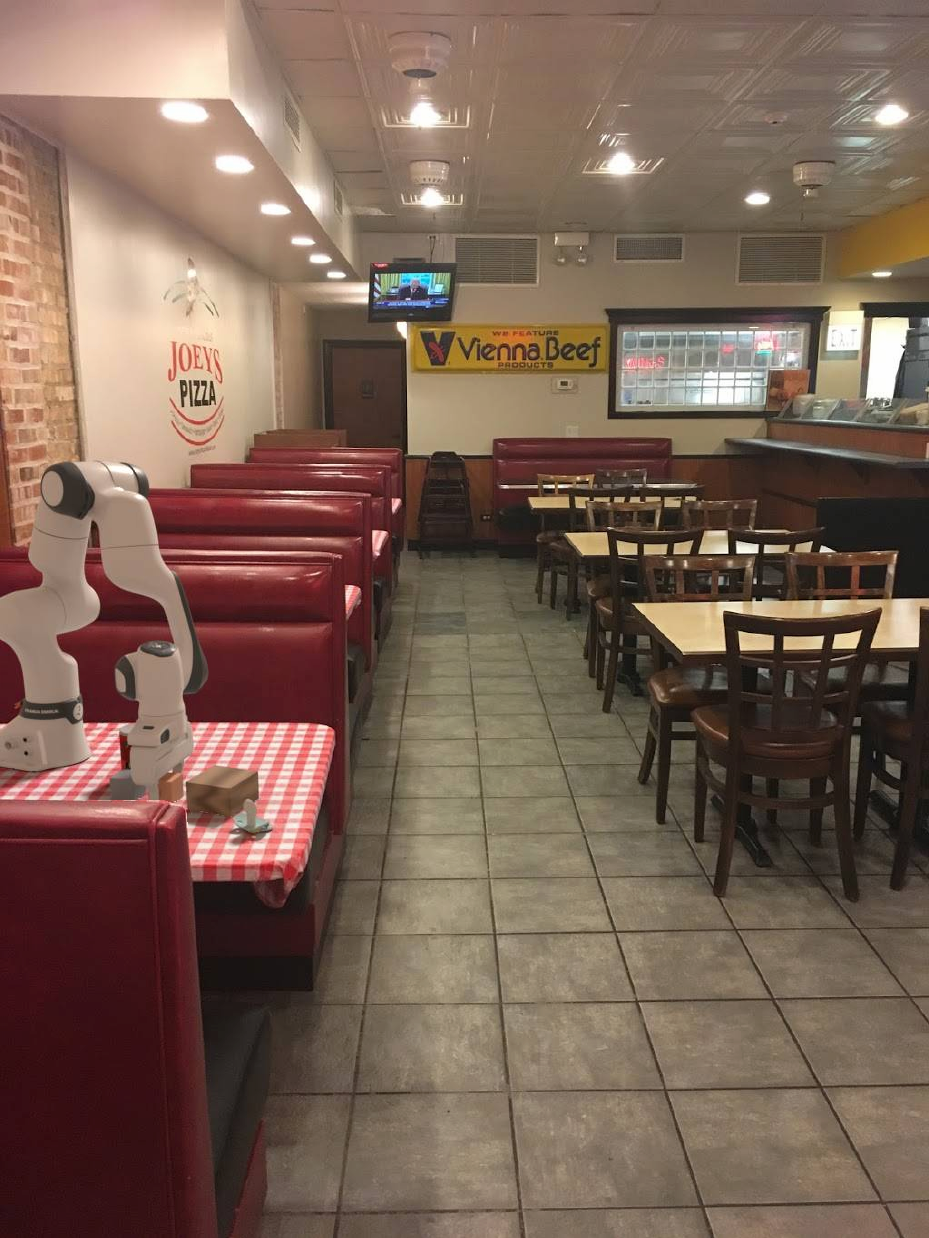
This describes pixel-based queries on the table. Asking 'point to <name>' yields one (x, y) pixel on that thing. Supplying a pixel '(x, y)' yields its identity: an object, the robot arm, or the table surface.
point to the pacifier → (251, 819)
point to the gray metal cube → (125, 787)
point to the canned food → (125, 746)
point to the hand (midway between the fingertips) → (166, 790)
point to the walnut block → (222, 790)
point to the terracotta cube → (171, 787)
